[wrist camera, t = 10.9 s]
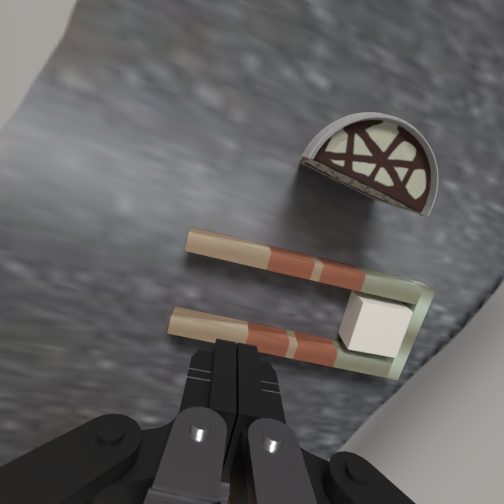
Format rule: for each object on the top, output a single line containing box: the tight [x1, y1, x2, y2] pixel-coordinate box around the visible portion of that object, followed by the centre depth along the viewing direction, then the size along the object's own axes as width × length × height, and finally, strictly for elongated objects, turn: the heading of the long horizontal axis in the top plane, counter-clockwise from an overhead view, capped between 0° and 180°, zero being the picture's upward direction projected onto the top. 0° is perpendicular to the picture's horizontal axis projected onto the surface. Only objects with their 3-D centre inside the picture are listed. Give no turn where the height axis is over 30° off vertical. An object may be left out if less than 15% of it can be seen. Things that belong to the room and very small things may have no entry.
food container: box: [300, 112, 438, 216], centre depth 32 cm, size 12×6×10 cm, turn 65°
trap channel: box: [167, 227, 435, 380], centre depth 39 cm, size 12×28×3 cm, turn 76°
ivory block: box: [338, 290, 413, 358], centre depth 40 cm, size 6×6×4 cm
